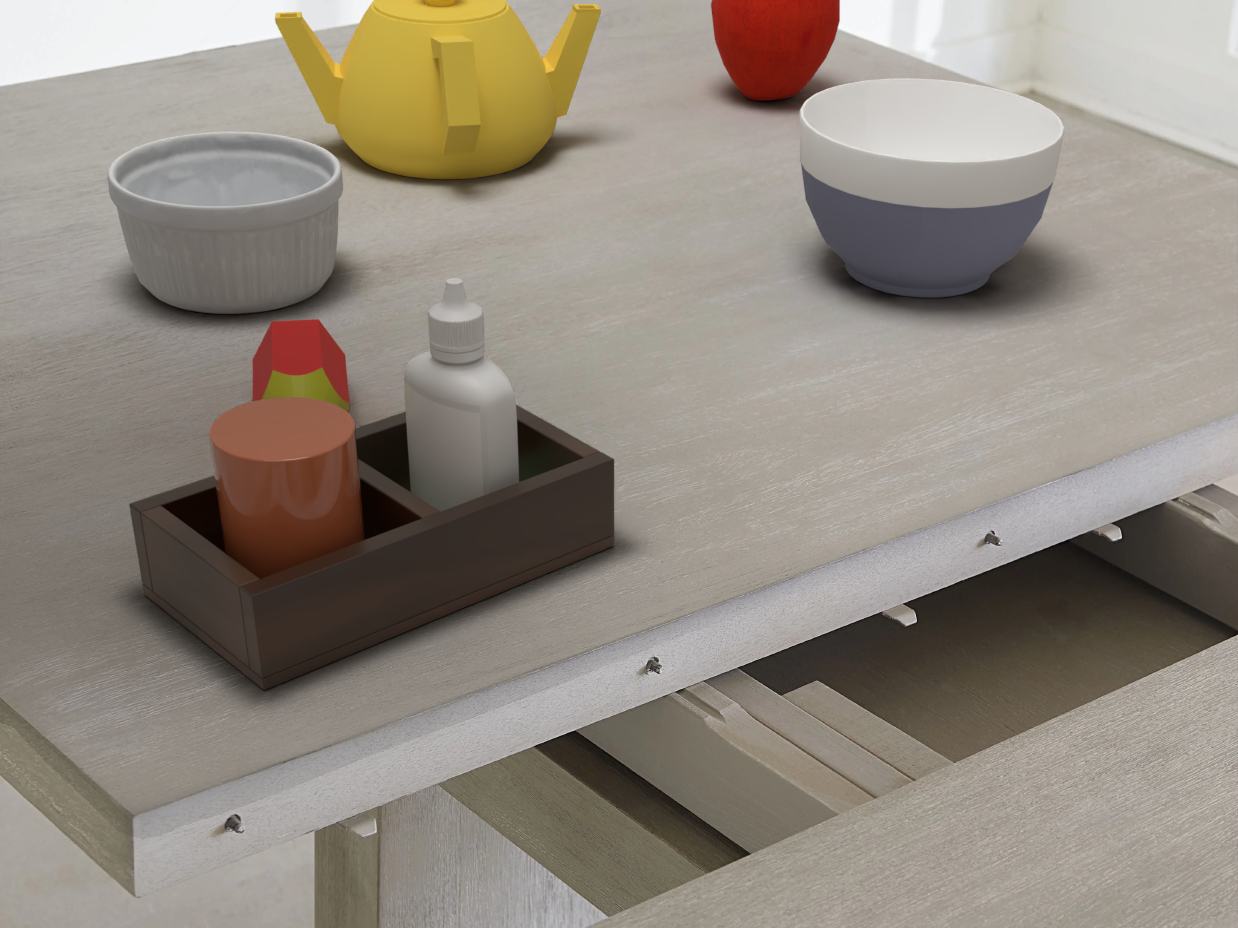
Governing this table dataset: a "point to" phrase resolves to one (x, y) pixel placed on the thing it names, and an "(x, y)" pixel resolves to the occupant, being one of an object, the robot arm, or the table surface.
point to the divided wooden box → (375, 553)
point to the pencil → (300, 364)
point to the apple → (774, 43)
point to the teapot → (443, 84)
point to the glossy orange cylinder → (286, 482)
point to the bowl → (926, 179)
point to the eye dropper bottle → (458, 409)
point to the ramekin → (229, 219)
